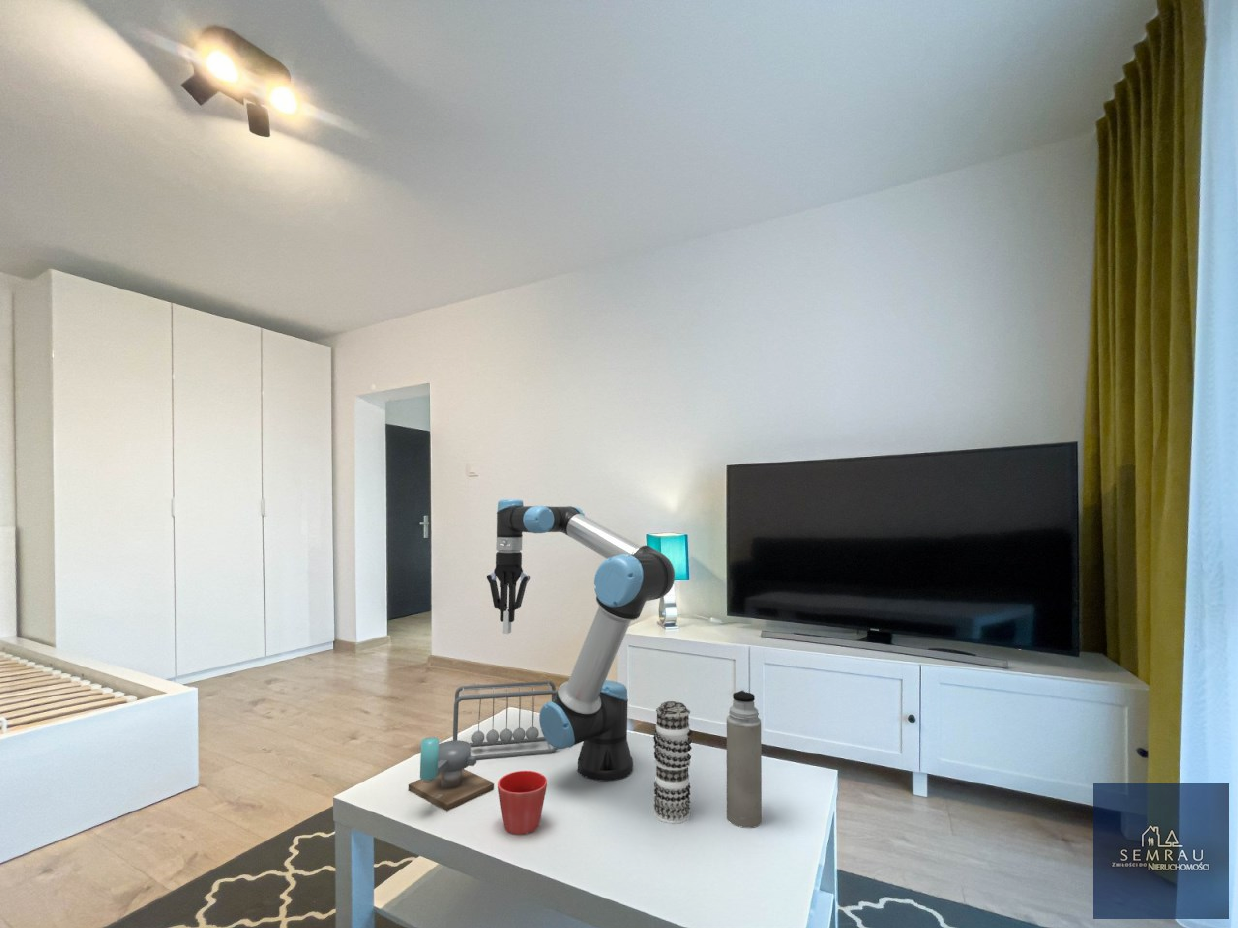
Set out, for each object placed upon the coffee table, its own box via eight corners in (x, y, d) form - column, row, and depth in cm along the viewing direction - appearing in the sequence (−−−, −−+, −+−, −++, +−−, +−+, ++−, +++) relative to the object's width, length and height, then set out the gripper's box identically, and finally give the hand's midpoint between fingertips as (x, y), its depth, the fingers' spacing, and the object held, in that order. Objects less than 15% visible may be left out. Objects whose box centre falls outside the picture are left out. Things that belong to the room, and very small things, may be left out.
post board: (494, 789, 147) (494, 764, 147) (446, 811, 136) (447, 784, 136) (455, 770, 157) (456, 747, 157) (408, 790, 146) (409, 765, 146)
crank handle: (438, 754, 152) (440, 714, 153) (482, 758, 150) (483, 717, 151) (400, 787, 134) (401, 741, 135) (448, 792, 132) (450, 746, 133)
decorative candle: (669, 799, 143) (670, 695, 145) (699, 814, 136) (700, 704, 138) (644, 813, 136) (645, 703, 138) (674, 829, 130) (675, 713, 132)
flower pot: (536, 842, 124) (538, 794, 125) (488, 835, 126) (490, 789, 127) (552, 816, 134) (553, 773, 135) (507, 811, 136) (508, 768, 137)
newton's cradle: (451, 762, 162) (454, 696, 163) (453, 747, 172) (455, 685, 174) (559, 753, 169) (560, 690, 171) (554, 739, 179) (555, 680, 181)
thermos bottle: (729, 807, 140) (729, 687, 142) (763, 813, 137) (762, 691, 139) (724, 824, 132) (724, 697, 134) (760, 830, 129) (759, 701, 132)
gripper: (483, 551, 169) (480, 634, 167) (526, 553, 167) (523, 637, 165) (493, 550, 176) (491, 629, 175) (534, 551, 174) (532, 631, 172)
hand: (506, 632), depth 170 cm, fingers closed
